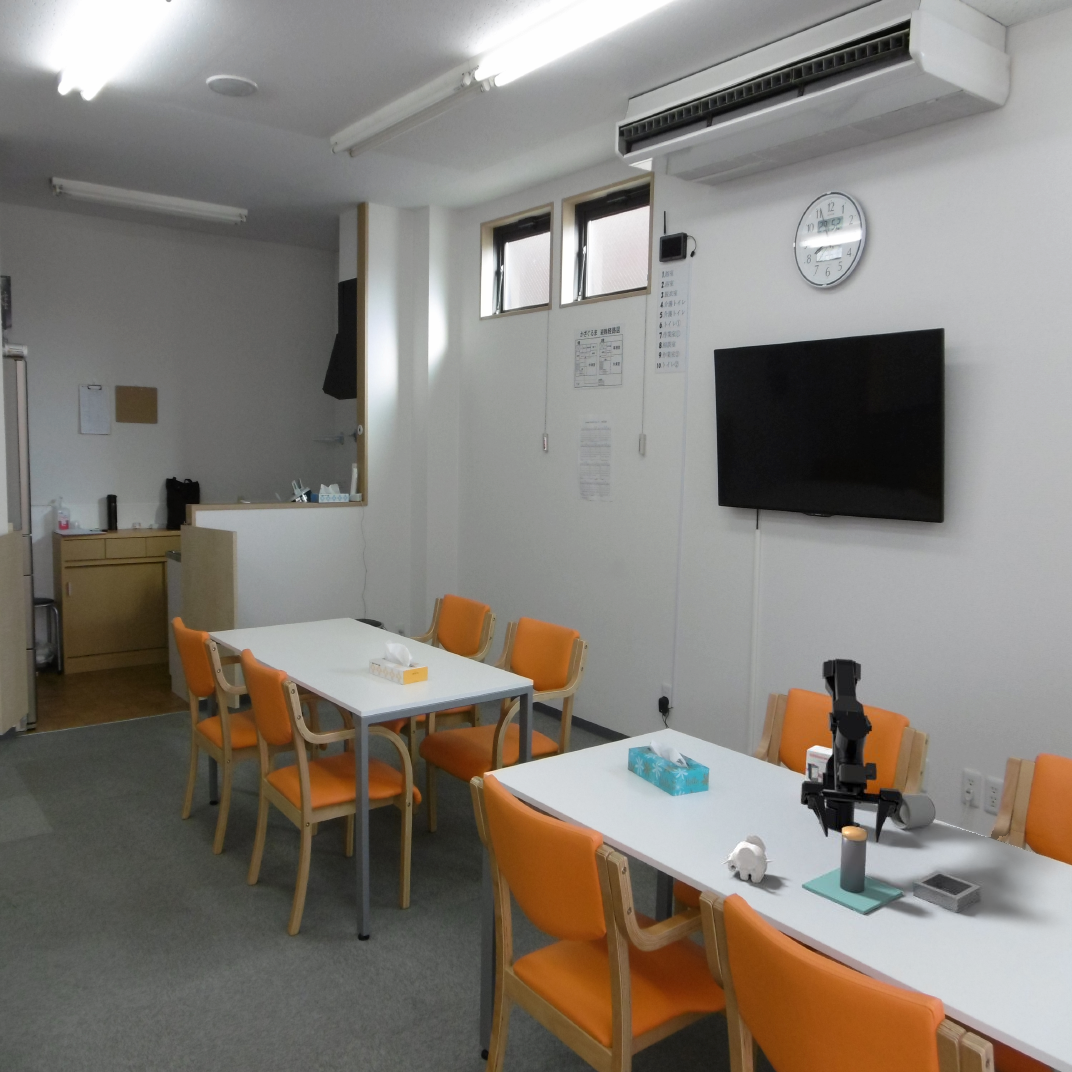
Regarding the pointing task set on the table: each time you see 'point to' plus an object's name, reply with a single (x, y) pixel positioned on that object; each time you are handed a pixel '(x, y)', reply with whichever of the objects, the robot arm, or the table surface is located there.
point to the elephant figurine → (749, 859)
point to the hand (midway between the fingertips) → (851, 838)
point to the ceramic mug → (914, 812)
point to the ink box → (816, 762)
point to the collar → (928, 892)
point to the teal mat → (858, 902)
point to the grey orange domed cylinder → (853, 859)
